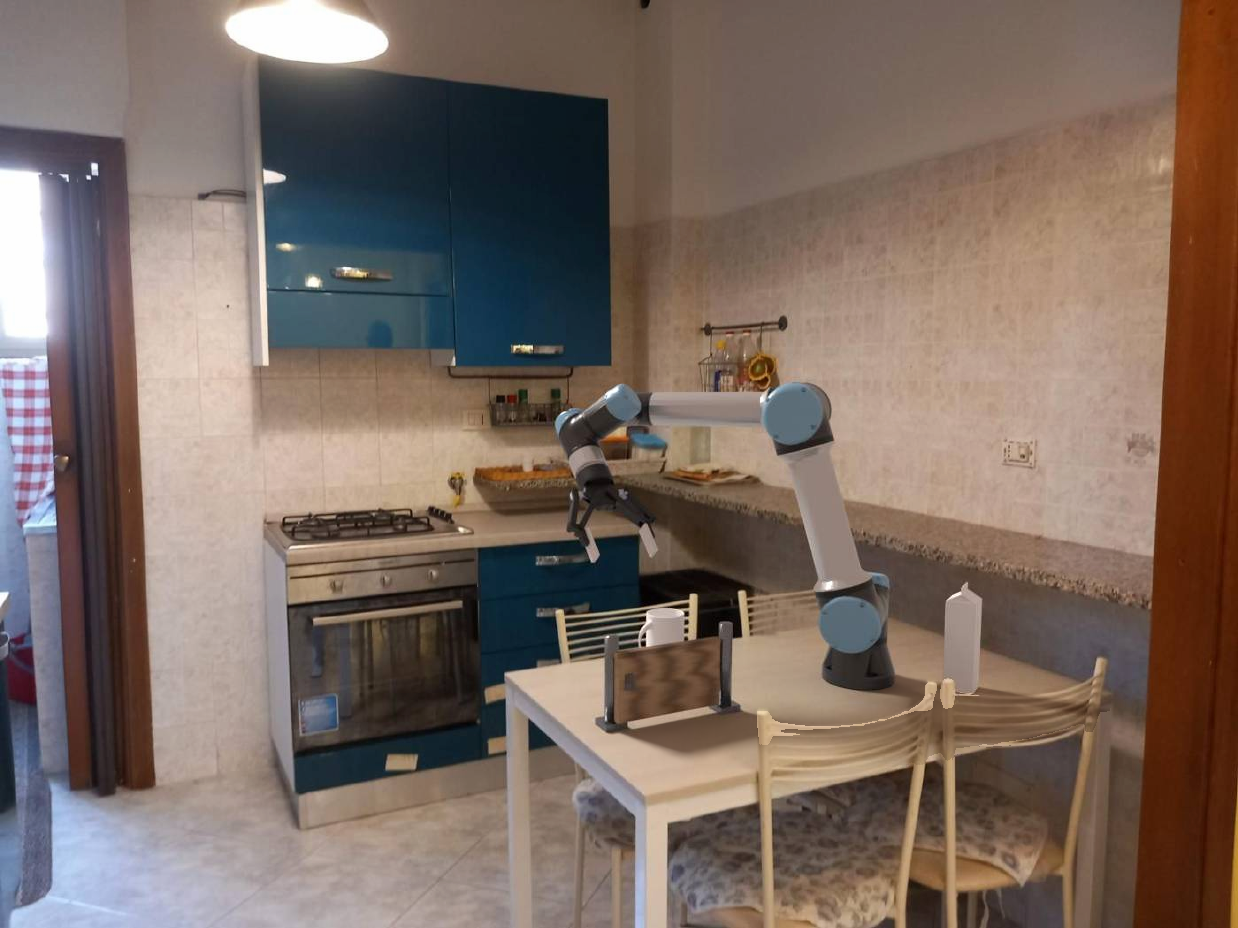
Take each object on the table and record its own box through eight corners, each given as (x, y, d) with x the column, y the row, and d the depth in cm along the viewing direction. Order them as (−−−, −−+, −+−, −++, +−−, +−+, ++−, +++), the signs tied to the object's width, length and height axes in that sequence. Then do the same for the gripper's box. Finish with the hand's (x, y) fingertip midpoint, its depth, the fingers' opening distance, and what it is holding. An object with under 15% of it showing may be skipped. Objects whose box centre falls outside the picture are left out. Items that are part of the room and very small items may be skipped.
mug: (626, 660, 212) (626, 613, 211) (667, 650, 219) (667, 606, 218) (650, 669, 205) (650, 622, 204) (691, 660, 212) (692, 613, 211)
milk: (978, 687, 194) (983, 583, 192) (972, 696, 189) (977, 589, 187) (948, 682, 198) (953, 579, 195) (941, 690, 192) (946, 585, 190)
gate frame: (720, 699, 186) (722, 616, 185) (740, 710, 180) (741, 624, 179) (595, 723, 173) (595, 634, 172) (612, 736, 167) (612, 643, 166)
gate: (715, 701, 181) (716, 636, 180) (720, 704, 179) (721, 638, 178) (612, 721, 171) (613, 651, 169) (617, 724, 169) (617, 654, 168)
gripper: (634, 481, 207) (669, 561, 196) (532, 485, 194) (563, 571, 183) (648, 459, 202) (684, 541, 191) (544, 463, 189) (576, 550, 178)
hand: (625, 556), depth 187 cm, fingers open, 13 cm apart
